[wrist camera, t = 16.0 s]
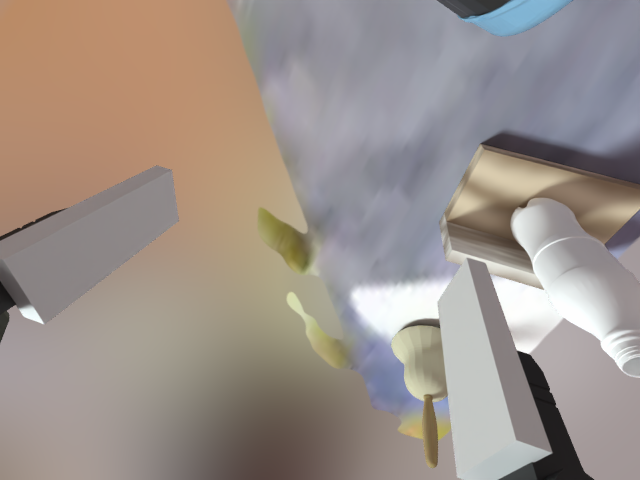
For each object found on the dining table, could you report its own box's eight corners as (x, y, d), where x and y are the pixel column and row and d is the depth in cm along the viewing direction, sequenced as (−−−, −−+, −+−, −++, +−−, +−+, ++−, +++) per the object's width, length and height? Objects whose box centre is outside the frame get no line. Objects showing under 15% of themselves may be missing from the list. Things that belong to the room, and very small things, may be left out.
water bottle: (577, 205, 40) (742, 364, 20) (536, 242, 45) (640, 403, 25) (530, 184, 40) (651, 322, 20) (495, 222, 45) (565, 368, 25)
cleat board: (480, 143, 42) (499, 170, 33) (640, 184, 40) (705, 224, 31) (439, 222, 50) (445, 260, 41) (569, 259, 48) (605, 308, 39)
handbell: (436, 370, 72) (447, 495, 52) (381, 346, 72) (370, 461, 52) (475, 337, 63) (506, 474, 43) (411, 310, 63) (413, 433, 43)
